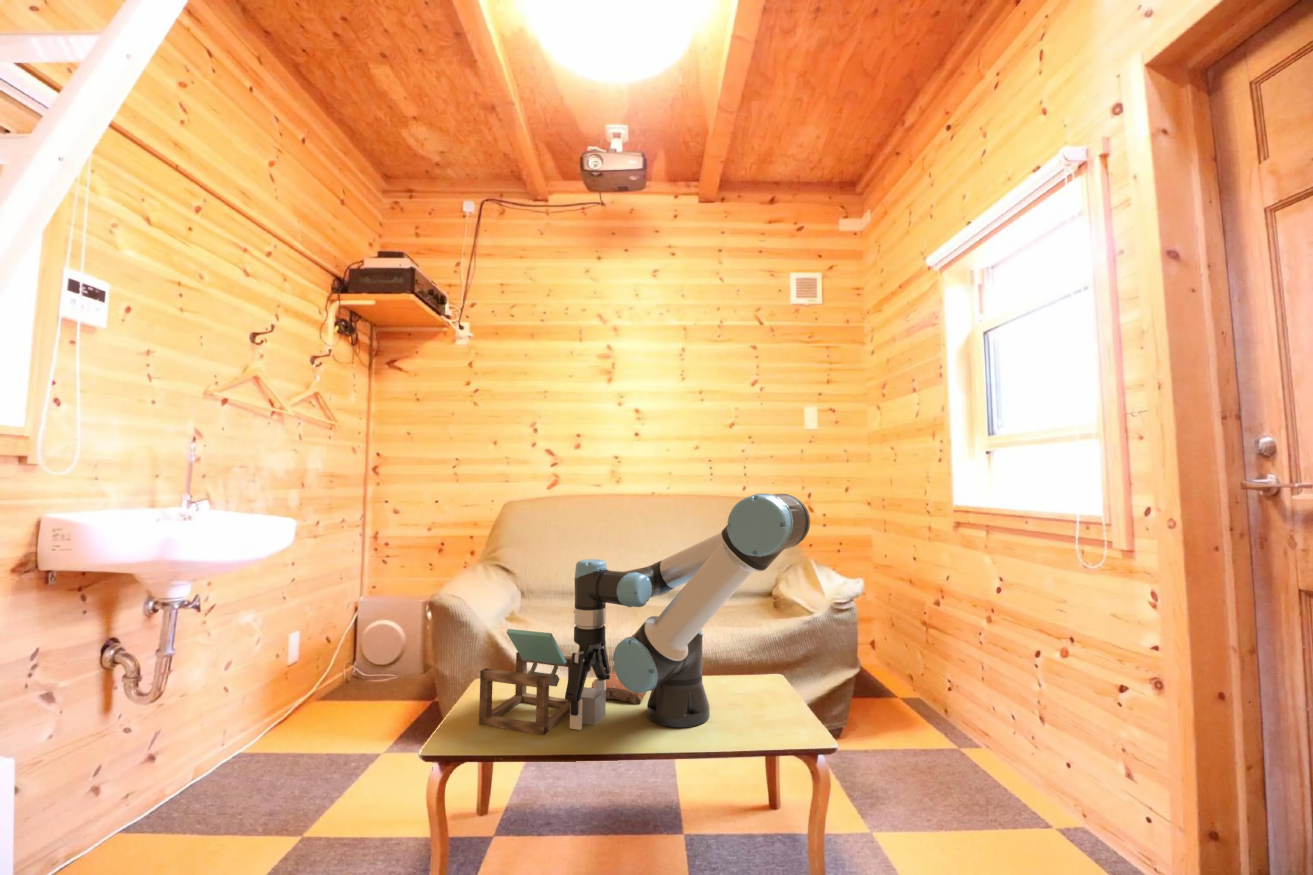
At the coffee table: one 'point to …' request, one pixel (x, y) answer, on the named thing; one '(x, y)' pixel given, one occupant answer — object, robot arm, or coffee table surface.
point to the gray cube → (593, 705)
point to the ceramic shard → (620, 691)
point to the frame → (521, 699)
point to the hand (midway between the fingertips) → (588, 717)
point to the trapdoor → (538, 651)
